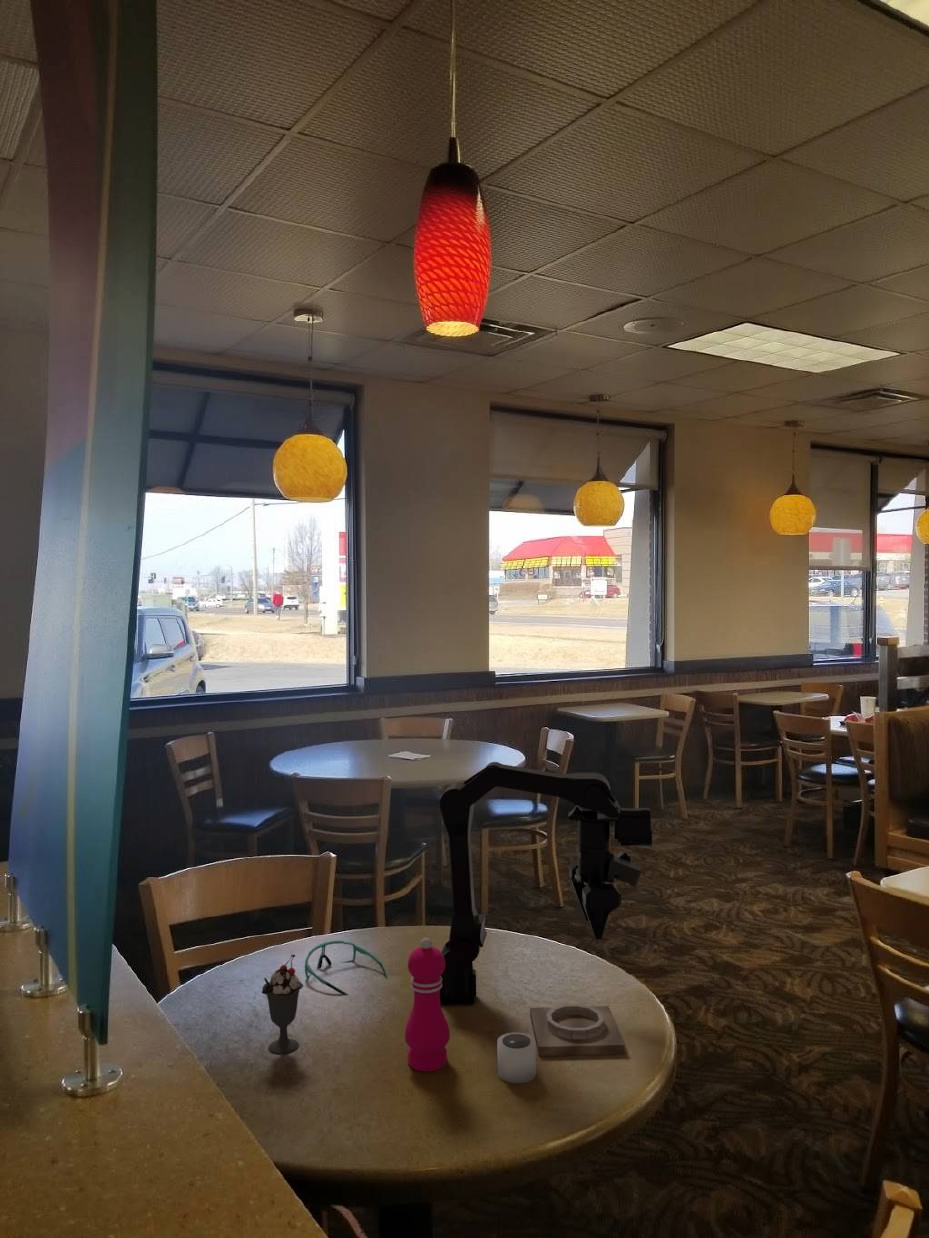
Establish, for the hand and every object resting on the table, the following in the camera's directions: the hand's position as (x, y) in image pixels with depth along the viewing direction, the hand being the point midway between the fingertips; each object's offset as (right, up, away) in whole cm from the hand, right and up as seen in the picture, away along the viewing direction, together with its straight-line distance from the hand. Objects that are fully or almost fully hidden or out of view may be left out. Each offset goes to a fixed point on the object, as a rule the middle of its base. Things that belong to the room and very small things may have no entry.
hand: (593, 929), depth 164 cm
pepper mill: (-29, -15, -19) cm, 38 cm away
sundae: (-54, -15, -14) cm, 57 cm away
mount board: (-5, -14, -11) cm, 18 cm away
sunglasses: (-47, -15, +14) cm, 52 cm away
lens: (-15, -15, -23) cm, 31 cm away
